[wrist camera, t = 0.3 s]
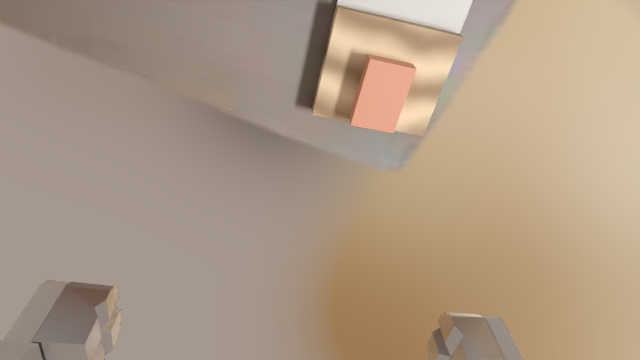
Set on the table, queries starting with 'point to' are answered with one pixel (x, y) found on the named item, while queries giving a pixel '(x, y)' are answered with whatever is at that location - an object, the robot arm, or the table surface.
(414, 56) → the riser
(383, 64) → the pink rectangular block
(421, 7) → the mat
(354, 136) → the table surface
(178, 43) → the table surface
